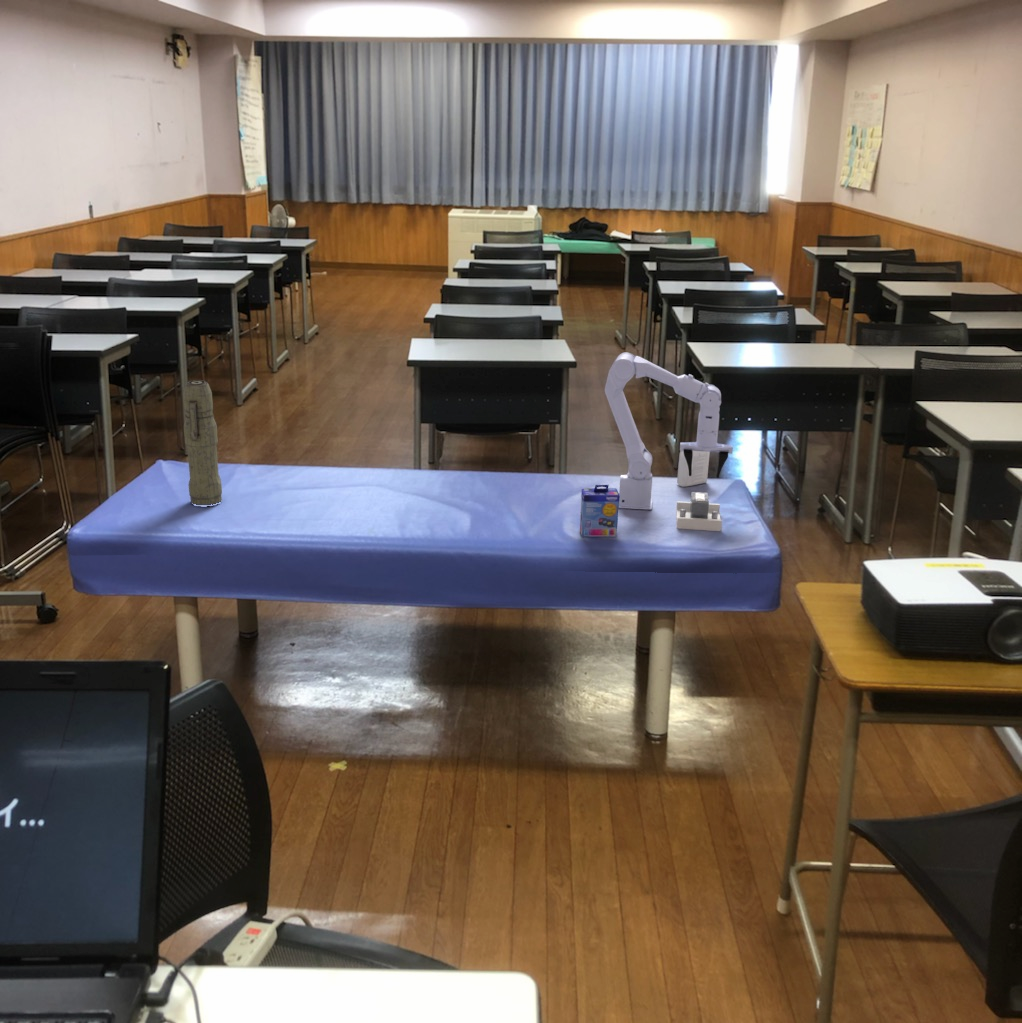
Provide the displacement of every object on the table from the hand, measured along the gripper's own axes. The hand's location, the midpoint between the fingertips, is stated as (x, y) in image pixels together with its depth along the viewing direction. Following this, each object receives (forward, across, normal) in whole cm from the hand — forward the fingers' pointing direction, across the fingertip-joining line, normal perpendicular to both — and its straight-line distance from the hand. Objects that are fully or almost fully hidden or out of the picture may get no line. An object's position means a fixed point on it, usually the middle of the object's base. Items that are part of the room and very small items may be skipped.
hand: (703, 475), depth 306 cm
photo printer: (+11, -2, +24) cm, 26 cm away
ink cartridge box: (+11, -28, -24) cm, 38 cm away
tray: (+10, -1, -9) cm, 14 cm away
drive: (+9, -1, -9) cm, 13 cm away
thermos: (+11, -140, -20) cm, 142 cm away
